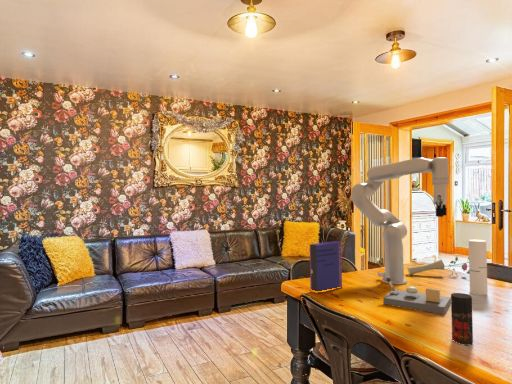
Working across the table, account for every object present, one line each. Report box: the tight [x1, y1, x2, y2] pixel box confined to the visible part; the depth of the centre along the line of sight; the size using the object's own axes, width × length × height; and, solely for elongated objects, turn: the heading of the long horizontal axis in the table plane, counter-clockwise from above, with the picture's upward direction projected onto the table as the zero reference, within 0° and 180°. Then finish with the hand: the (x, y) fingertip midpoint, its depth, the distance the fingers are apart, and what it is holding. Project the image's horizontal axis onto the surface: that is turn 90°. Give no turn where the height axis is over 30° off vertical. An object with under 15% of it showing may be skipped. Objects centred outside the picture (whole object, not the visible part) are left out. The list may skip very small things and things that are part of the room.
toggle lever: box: [386, 277, 395, 291], centre depth 161 cm, size 2×2×6 cm
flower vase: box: [407, 256, 469, 278], centre depth 204 cm, size 12×12×35 cm
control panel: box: [382, 288, 451, 316], centre depth 154 cm, size 24×16×4 cm, turn 53°
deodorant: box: [450, 292, 474, 345], centre depth 116 cm, size 6×6×15 cm
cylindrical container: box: [468, 239, 488, 296], centre depth 169 cm, size 7×7×25 cm
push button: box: [405, 285, 418, 294], centre depth 155 cm, size 4×4×2 cm
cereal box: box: [309, 240, 343, 291], centre depth 180 cm, size 17×5×24 cm, turn 123°
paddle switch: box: [425, 287, 441, 303], centre depth 148 cm, size 5×2×5 cm, turn 53°
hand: (441, 216), depth 178 cm, fingers open, 9 cm apart
